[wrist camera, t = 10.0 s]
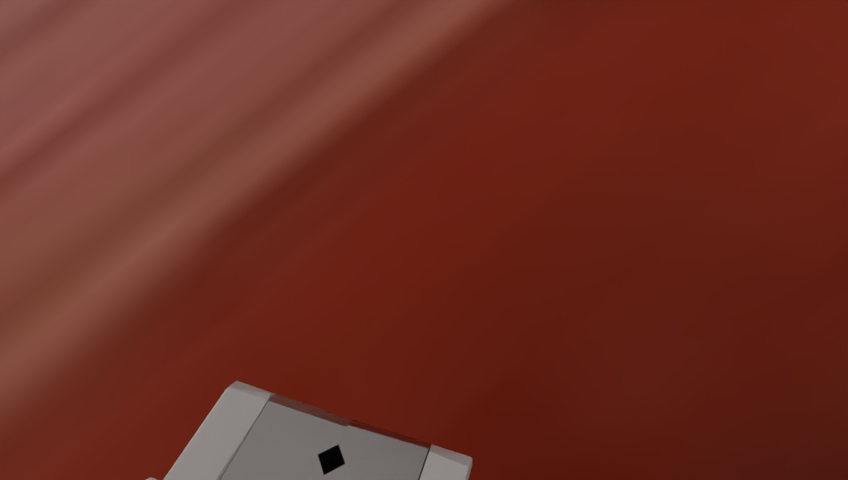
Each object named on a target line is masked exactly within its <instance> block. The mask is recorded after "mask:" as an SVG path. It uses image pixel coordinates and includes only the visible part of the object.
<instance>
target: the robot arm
mask: <svg viewBox="0 0 848 480" xmlns="http://www.w3.org/2000/svg"><path fill="white" fill-rule="evenodd" d="M430 446H431V444H430V443H427V442H423V441H420V440H417V439H414V438H411V437H407V436H404V435H401V434H398V433H394V432H391V431H388V430H385V429H382V428H378V427H375V426H372V425H369V424H366V423H362V422H359V421H356V420H349V419H346V418H344V417H341V416H338V415H335V414H332V413H329V412H327V411H324V410H321V409H318V408H315V407H312V406H310V405H307V404H304V403H301V402H298V401H295V400H293V399H290V398H287V397H284V396H281V395H278V394H274V393H271V392H268V391H265V390H262V389H259V388H257V387H254V386H251V385H248V384H245V383H242V382H239V381H236V382H235V383H233V384H232V385H231V386H229V387H228V388H227V389H226V390H225V391H224V393H223V394H222V396H221V397H220V399H219V400H218V401H217V403H216V404H215V406H214V407H213V409H212V410H211V412H210V413H209V414H208V416H207V417H206V419H205V420H204V422H203V423H202V425H201V426H200V427H199V429H198V430H197V432H196V433H195V435H194V436H193V438H192V439H191V440H190V442H189V443H188V445H187V446H186V448H185V449H184V451H183V452H182V453H181V455H180V456H179V458H178V459H177V461H176V462H175V464H174V465H173V466H172V468H171V469H170V471H169V472H168V474H167V475H166V477H165V478H164V479H163V480H468V479H469V475H470V471H471V467H472V457H469V456H466V455H463V454H460V453H457V452H454V451H451V450H447V449H444V448H441V447H438V446H435V445H432V446H431V448H430ZM146 480H158V479H154V478H151V477H150V478H148V479H146Z"/></svg>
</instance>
